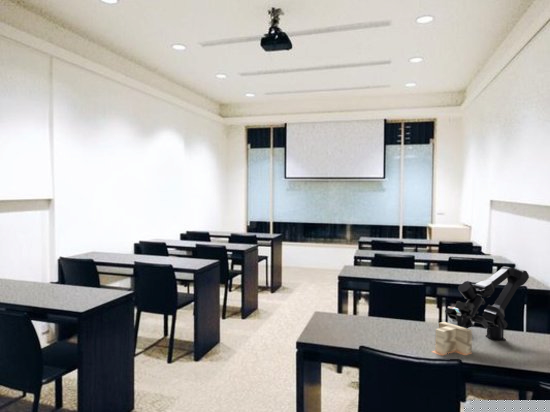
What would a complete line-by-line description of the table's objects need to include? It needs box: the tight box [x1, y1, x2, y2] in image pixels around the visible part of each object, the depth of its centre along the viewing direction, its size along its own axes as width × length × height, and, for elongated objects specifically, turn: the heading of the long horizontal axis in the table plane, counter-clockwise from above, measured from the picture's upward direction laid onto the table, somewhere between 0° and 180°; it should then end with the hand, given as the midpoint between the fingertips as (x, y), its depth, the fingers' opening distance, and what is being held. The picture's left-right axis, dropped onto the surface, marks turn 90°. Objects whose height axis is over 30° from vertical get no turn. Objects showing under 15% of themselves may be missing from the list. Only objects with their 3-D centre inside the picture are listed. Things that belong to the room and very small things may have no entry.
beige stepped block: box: [434, 321, 473, 355], centre depth 176 cm, size 13×14×10 cm
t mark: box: [430, 343, 473, 357], centre depth 175 cm, size 14×16×1 cm
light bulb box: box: [447, 306, 461, 325], centre depth 203 cm, size 11×7×11 cm, turn 168°
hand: (457, 332), depth 179 cm, fingers closed, pressing on beige stepped block
